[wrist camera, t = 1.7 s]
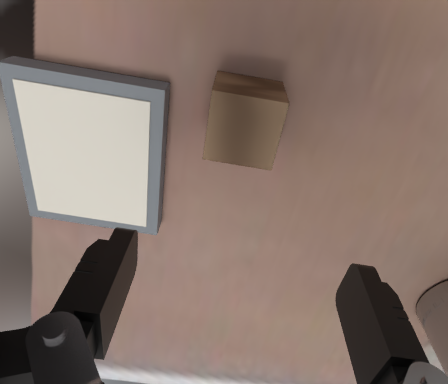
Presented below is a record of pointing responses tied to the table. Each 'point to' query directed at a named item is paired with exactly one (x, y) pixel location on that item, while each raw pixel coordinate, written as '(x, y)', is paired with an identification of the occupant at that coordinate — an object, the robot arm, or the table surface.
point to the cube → (245, 120)
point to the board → (88, 142)
